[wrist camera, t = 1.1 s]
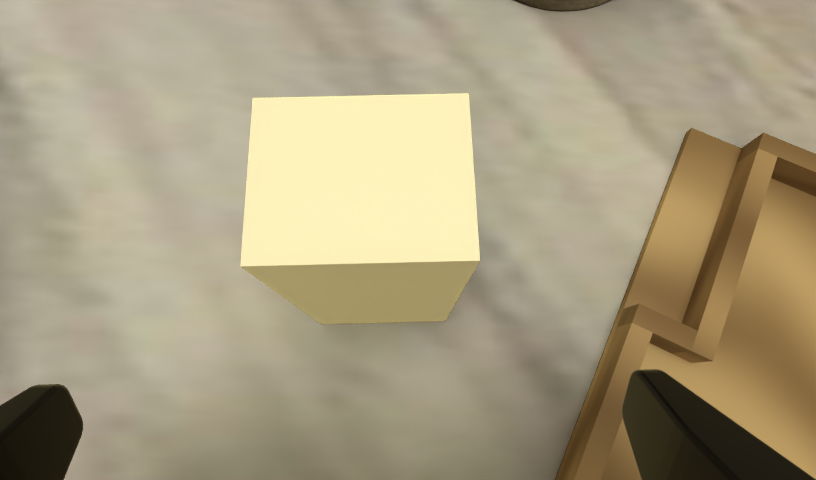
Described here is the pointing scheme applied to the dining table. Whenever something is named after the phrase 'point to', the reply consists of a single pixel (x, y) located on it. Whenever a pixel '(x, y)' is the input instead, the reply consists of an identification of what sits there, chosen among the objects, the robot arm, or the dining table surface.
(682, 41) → the dining table surface
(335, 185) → the panel block
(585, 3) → the pillar candle
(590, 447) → the keyhole frame
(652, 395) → the robot arm
